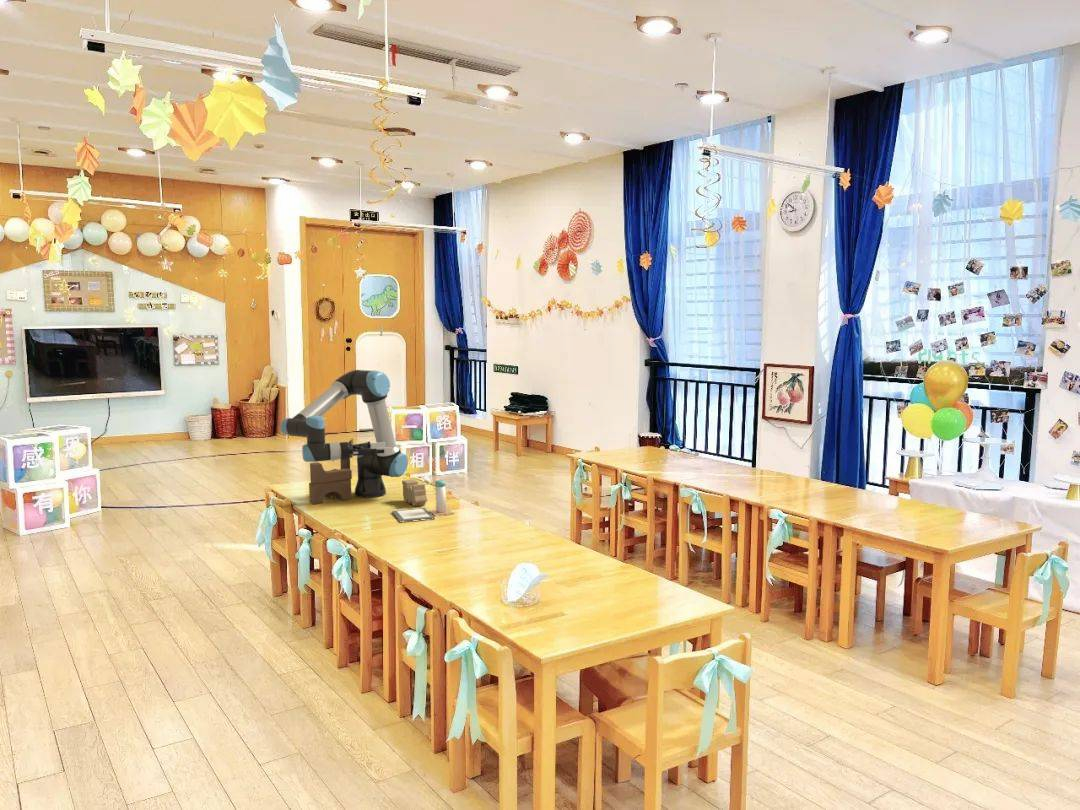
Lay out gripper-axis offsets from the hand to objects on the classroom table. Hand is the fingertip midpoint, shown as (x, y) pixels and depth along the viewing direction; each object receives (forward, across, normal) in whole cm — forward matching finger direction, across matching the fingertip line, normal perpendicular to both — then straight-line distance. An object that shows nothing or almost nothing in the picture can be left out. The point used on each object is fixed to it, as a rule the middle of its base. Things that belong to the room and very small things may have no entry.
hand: (388, 447), depth 353 cm
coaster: (+22, +8, -30) cm, 38 cm away
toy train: (+15, -14, -30) cm, 36 cm away
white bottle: (+22, +8, -29) cm, 37 cm away
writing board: (+9, +8, -30) cm, 32 cm away
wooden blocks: (-20, -41, -30) cm, 55 cm away
